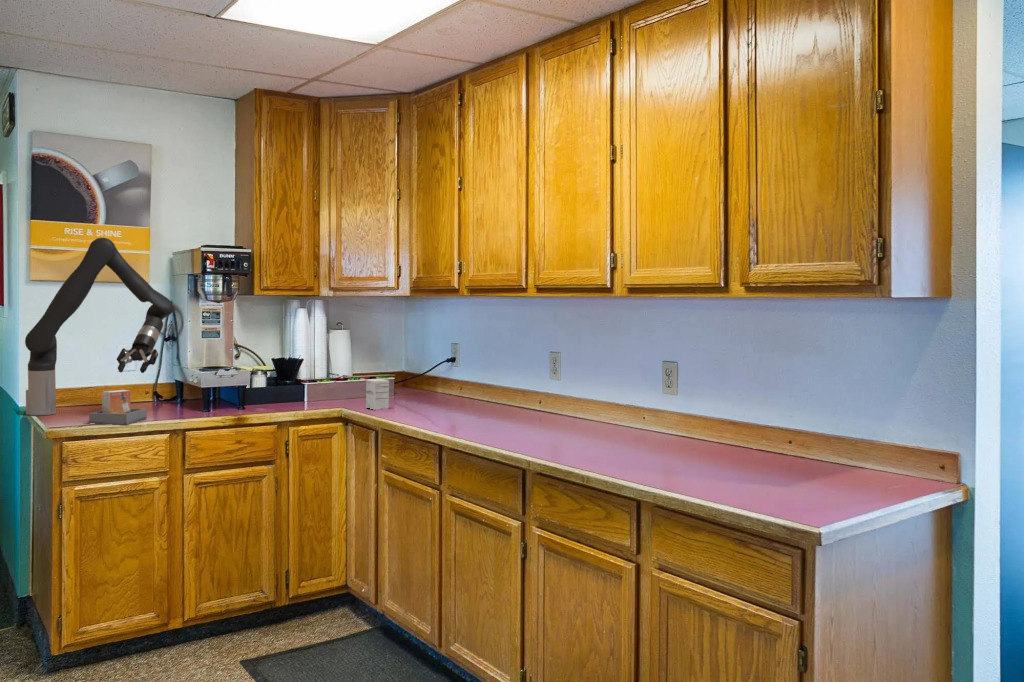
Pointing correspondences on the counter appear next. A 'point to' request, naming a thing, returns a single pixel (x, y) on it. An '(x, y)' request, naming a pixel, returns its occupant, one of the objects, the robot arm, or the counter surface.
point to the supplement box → (377, 393)
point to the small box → (116, 401)
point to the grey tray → (118, 417)
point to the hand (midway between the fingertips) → (130, 371)
